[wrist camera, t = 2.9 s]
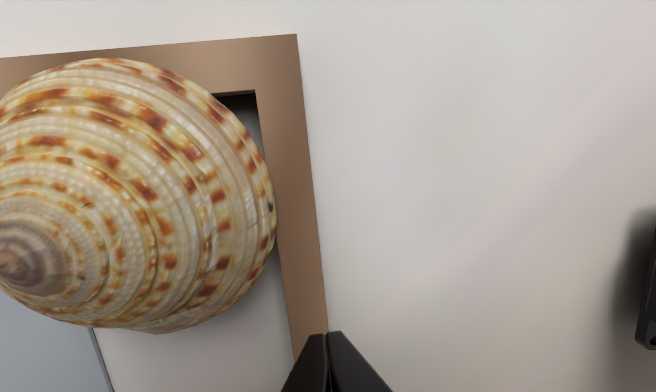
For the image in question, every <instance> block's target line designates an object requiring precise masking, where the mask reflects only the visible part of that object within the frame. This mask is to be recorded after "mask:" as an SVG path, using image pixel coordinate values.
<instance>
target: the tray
mask: <svg viewBox="0 0 656 392" xmlns="http://www.w3.org/2000/svg"><path fill="white" fill-rule="evenodd" d="M0 392H113V389H112V386H111V383H110V381H109V378H108V375H107V372H106V369H105V366H104V363H103V360H102V357H101V354H100V351H99V348H98V345H97V342H96V339H95V336H94V333H93V330H92V327H84V326H79V325H74V324H69V323H66V322H61V321H57V320H55V319H53V318H50V317H47V316H44V315H42V314H40V313H37V312H35V311H33V310H31V309H29V308H27V307H26V306H24V305H22V304H20V303H18V302H17V301H15V300H14V299H12V298H11V297H10V296H8V295H7V294H5V293H4V292H3V291H2V290H0Z"/></svg>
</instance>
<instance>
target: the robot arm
mask: <svg viewBox="0 0 656 392" xmlns="http://www.w3.org/2000/svg"><path fill="white" fill-rule="evenodd" d="M635 340H636V341H637V342H638V343H639V344H641V345H642V346H644V347H645V348H646V349H648V350H656V229H655V235H654V240H653V245H652V250H651V255H650V261H649V266H648V271H647V276H646V281H645V287H644V292H643V297H642V302H641V308H640V313H639V318H638V323H637V328H636V334H635ZM326 345H327V346H326ZM327 354H328V355H327ZM328 362H329V364H328ZM329 371H330V373H329ZM330 380H331V382H330ZM331 389H332V390H331ZM281 392H393V391H392V390H391V389H390V387H389V386H388V385H387V384H386V383H385V382H384V380H383V379H382V378H381V377H380V376H379V375H378V373H377V372H376V371H375V370H374V369H373V368H372V366H371V365H370V364H369V363H368V362H367V361H366V359H365V358H364V357H363V356H362V355H361V354H360V353H359V351H358V350H357V349H356V348H355V347H354V346H353V344H352V343H351V342H350V341H349V340H348V339H347V337H346V336H345V335H344V334H343V333H342V332H341V331H333V332H327V333H326V337H325V334H324V333H318V334H311V335H310V336H309V337H308V339H307V341H306V343H305V345H304V347H303V349H302V350H301V352H300V354H299V356H298V358H297V360H296V362H295V364H294V366H293V368H292V370H291V372H290V374H289V376H288V378H287V380H286V382H285V384H284V386H283V388H282V390H281Z"/></svg>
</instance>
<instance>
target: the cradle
mask: <svg viewBox="0 0 656 392" xmlns="http://www.w3.org/2000/svg"><path fill="white" fill-rule="evenodd" d="M94 58H121V59H127V60H133V61H138V62H144V63H150V64H153V65H155V66H158V67H161V68H164V69H167V70H169V71H172V72H175V73H177V74H179V75H181V76H183V77H185V78H187V79H189V80H191V81H193V82H195V83H196V84H198V85H200V86H201V87H203V88H204V89H206V90H208V91H209V92H210V93H211V94H212V95H213V96H214V97H220V96H231V95H242V94H253V93H256V100H257V106H258V113H259V120H260V127H261V134H262V141H263V148H264V154H265V161H266V166H267V169H268V172H269V175H270V178H271V182H272V186H273V191H274V198H275V206H276V215H277V223H276V237H277V244H278V250H279V257H280V264H281V271H282V278H283V285H284V292H285V298H286V305H287V312H288V319H289V326H290V333H291V340H292V346H293V353H294V360H295V362H296V360H297V358H298V356H299V354H300V352H301V350H302V349H303V347H304V345H305V343H306V341H307V339H308V337H309V336H310V335H311V334H318V333H324V334H325V337H326V333H327V332H329V329H328V320H327V311H326V302H325V293H324V283H323V274H322V265H321V256H320V246H319V237H318V228H317V219H316V209H315V200H314V191H313V182H312V173H311V163H310V154H309V145H308V136H307V126H306V117H305V108H304V99H303V89H302V80H301V71H300V62H299V53H298V43H297V34H286V35H274V36H262V37H250V38H238V39H226V40H213V41H201V42H189V43H177V44H165V45H153V46H140V47H128V48H116V49H104V50H92V51H79V52H67V53H55V54H43V55H31V56H19V57H6V58H0V100H1V99H2V98H3V97H4V96H5V94H6V93H7V92H8V91H10V90H11V89H12V88H14V87H15V86H16V85H17V84H19V83H20V82H22V81H23V80H25V79H27V78H28V77H30V76H32V75H34V74H37V73H39V72H42V71H45V70H48V69H51V68H54V67H57V66H60V65H63V64H67V63H71V62H76V61H81V60H88V59H94ZM326 346H327V345H326ZM327 355H328V354H327ZM328 364H329V362H328ZM329 373H330V371H329ZM330 382H331V380H330ZM331 390H332V389H331Z"/></svg>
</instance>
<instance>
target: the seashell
mask: <svg viewBox="0 0 656 392" xmlns="http://www.w3.org/2000/svg"><path fill="white" fill-rule="evenodd" d="M276 223H277V215H276V206H275V198H274V191H273V186H272V182H271V178H270V175H269V172H268V169H267V166H266V163H265V161H264V159H263V157H262V155H261V153H260V151H259V149H258V147H257V145H256V143H255V142H254V140H253V139H252V137H251V136H250V134H249V133H248V131H247V130H246V128H245V127H244V125H243V124H242V123H241V122H240V121H239V119H238V118H237V117H236V116H235V114H234V113H233V112H231V111H230V110H229V109H228V108H226V107H225V106H224V105H222V104H221V103H220V102H219V101H217V100H216V99H215V97H214V96H213V95H212V94H211V93H210V92H209V91H208V90H206V89H204V88H203V87H201V86H200V85H198V84H196V83H195V82H193V81H191V80H189V79H187V78H185V77H183V76H181V75H179V74H177V73H175V72H172V71H169V70H167V69H164V68H161V67H158V66H155V65H153V64H150V63H144V62H138V61H133V60H127V59H121V58H94V59H88V60H81V61H76V62H71V63H67V64H63V65H60V66H57V67H54V68H51V69H48V70H45V71H42V72H39V73H37V74H34V75H32V76H30V77H28V78H27V79H25V80H23V81H22V82H20V83H19V84H17V85H16V86H15V87H14V88H12V89H11V90H10V91H8V92H7V93H6V94H5V96H4V97H3V98H2V99H1V100H0V290H2V291H3V292H4V293H5V294H7V295H8V296H10V297H11V298H12V299H14V300H15V301H17V302H18V303H20V304H22V305H24V306H26V307H27V308H29V309H31V310H33V311H35V312H37V313H40V314H42V315H44V316H47V317H50V318H53V319H55V320H57V321H61V322H66V323H69V324H74V325H79V326H84V327H92V328H127V329H130V330H137V331H143V332H147V333H152V334H165V333H172V332H175V331H178V330H181V329H185V328H188V327H191V326H195V325H197V324H199V323H201V322H204V321H206V320H208V319H210V318H212V317H214V316H216V315H218V314H220V313H222V312H223V311H224V310H226V309H227V308H229V307H230V306H231V305H233V304H234V303H235V302H236V301H238V300H239V299H240V298H241V297H242V296H243V295H244V294H245V293H246V292H247V291H248V290H249V289H250V288H251V286H252V285H253V284H254V283H255V282H256V280H257V279H258V277H259V276H260V274H261V272H262V271H263V269H264V267H265V265H266V263H267V260H268V258H269V253H270V251H271V249H272V248H273V245H274V239H275V232H276Z"/></svg>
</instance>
